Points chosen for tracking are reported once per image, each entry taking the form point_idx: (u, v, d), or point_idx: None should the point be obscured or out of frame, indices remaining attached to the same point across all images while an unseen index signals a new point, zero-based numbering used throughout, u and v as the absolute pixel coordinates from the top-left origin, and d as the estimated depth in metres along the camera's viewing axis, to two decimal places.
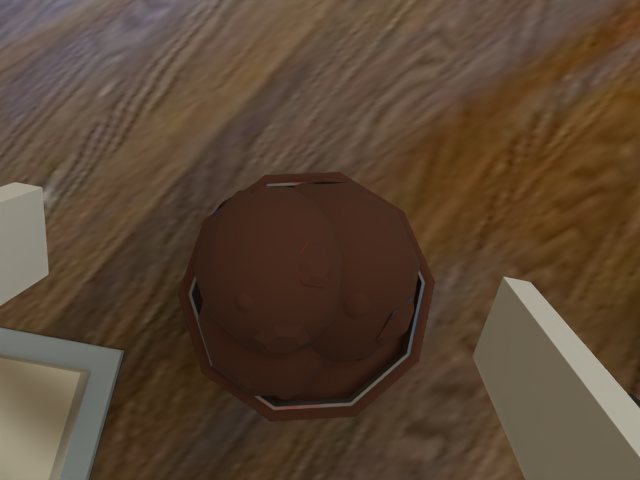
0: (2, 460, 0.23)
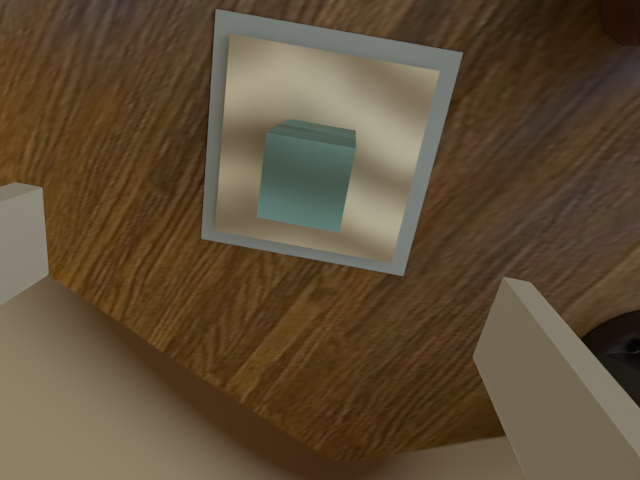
0: (382, 139, 0.31)
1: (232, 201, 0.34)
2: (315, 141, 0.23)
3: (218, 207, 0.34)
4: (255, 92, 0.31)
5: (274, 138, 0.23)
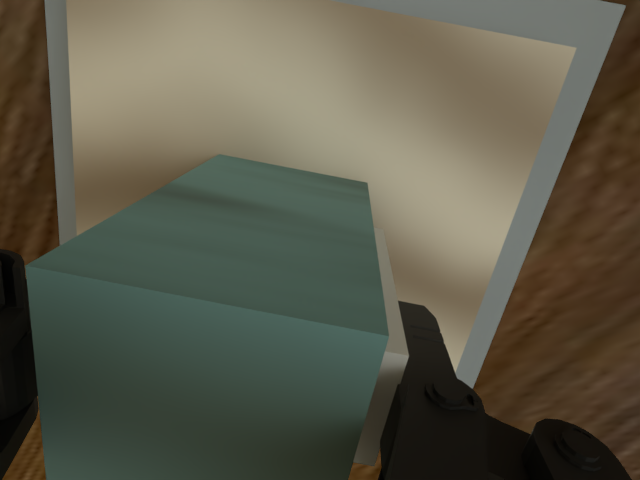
0: (428, 203, 0.14)
1: None
2: (226, 303, 0.06)
3: None
4: (138, 93, 0.13)
5: (60, 287, 0.06)
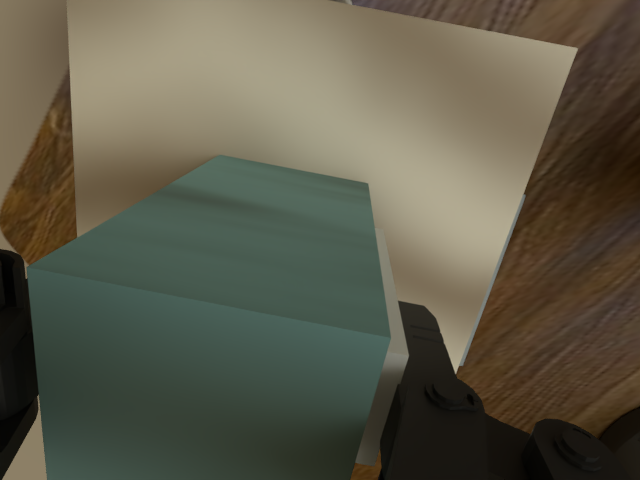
0: (428, 204, 0.14)
1: None
2: (227, 305, 0.06)
3: None
4: (139, 94, 0.13)
5: (61, 289, 0.06)
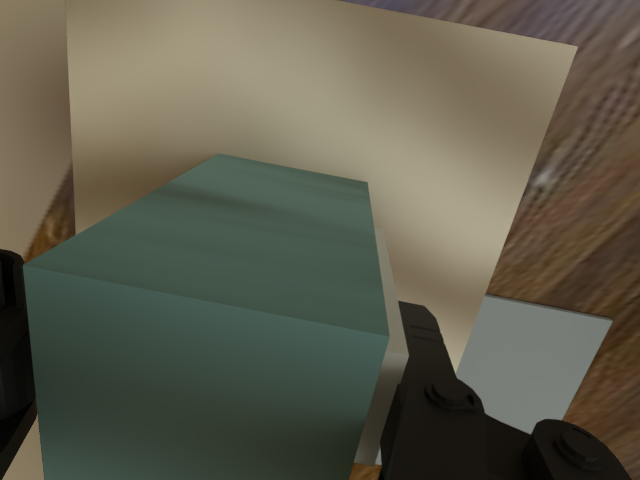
0: (428, 203, 0.14)
1: None
2: (225, 303, 0.06)
3: None
4: (137, 92, 0.13)
5: (57, 287, 0.06)
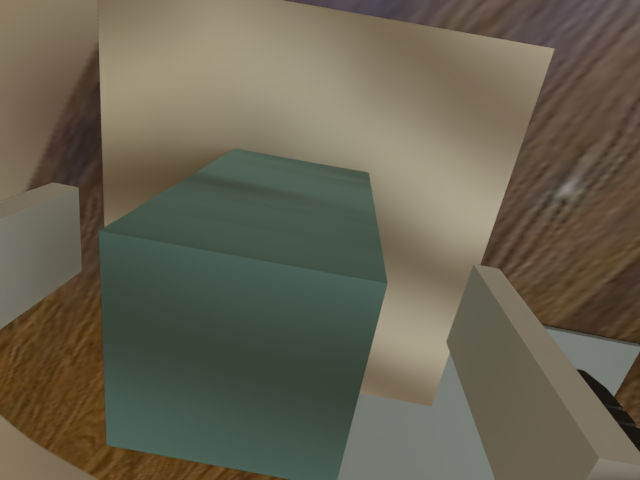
0: (424, 191, 0.15)
1: None
2: (257, 259, 0.07)
3: None
4: (161, 94, 0.15)
5: (125, 248, 0.07)
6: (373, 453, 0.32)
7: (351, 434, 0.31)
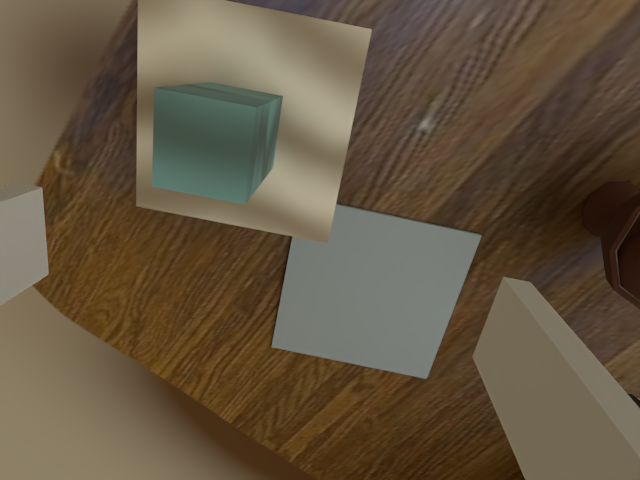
0: (313, 106, 0.28)
1: None
2: (210, 99, 0.20)
3: (138, 180, 0.31)
4: (170, 51, 0.28)
5: (163, 94, 0.20)
6: (308, 318, 0.45)
7: (292, 304, 0.45)
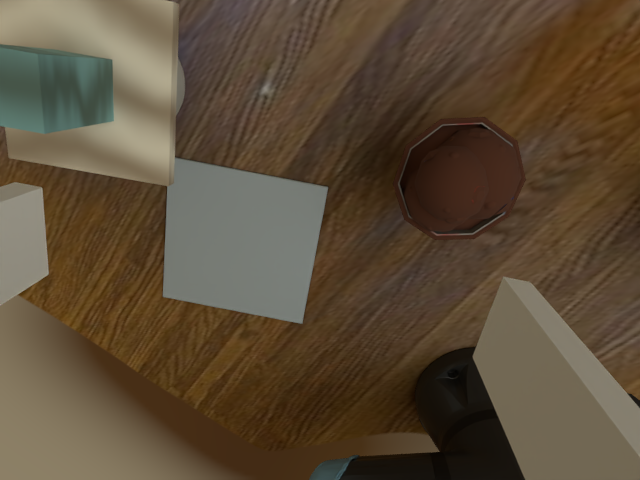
0: (137, 67, 0.35)
1: (18, 129, 0.37)
2: (3, 48, 0.26)
3: (7, 135, 0.37)
4: (19, 24, 0.34)
5: None
6: (191, 269, 0.51)
7: (175, 255, 0.50)
